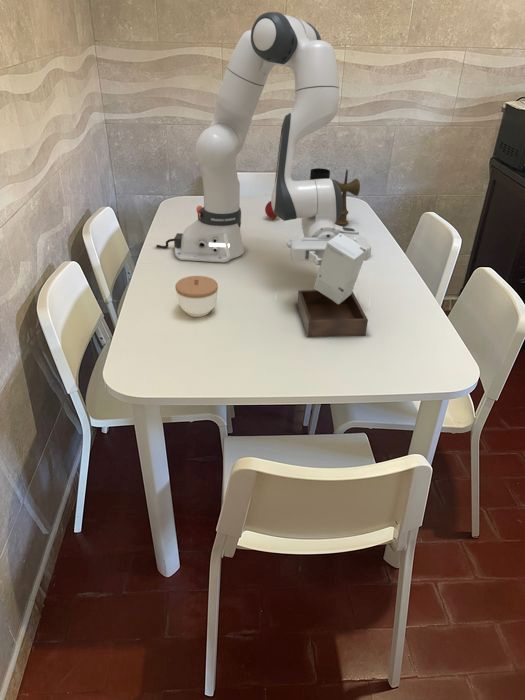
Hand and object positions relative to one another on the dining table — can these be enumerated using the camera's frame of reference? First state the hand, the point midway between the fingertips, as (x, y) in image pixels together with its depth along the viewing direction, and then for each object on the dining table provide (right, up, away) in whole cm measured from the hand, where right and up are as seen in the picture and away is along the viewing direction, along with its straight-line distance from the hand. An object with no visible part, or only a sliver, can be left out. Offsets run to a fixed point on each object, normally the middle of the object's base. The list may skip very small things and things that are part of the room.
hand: (336, 262), depth 128 cm
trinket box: (-35, -11, +11) cm, 38 cm away
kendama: (+12, +26, +70) cm, 75 cm away
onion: (-14, +28, +72) cm, 79 cm away
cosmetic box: (0, -7, +5) cm, 8 cm away
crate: (0, -13, +10) cm, 16 cm away
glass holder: (+5, +36, +86) cm, 93 cm away
